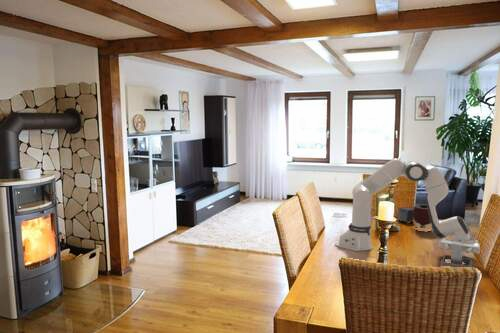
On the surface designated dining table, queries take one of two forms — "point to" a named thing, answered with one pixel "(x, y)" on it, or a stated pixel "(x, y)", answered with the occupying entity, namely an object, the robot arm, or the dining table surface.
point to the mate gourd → (421, 215)
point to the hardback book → (381, 198)
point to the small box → (405, 214)
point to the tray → (467, 262)
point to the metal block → (457, 253)
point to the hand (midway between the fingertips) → (457, 250)
